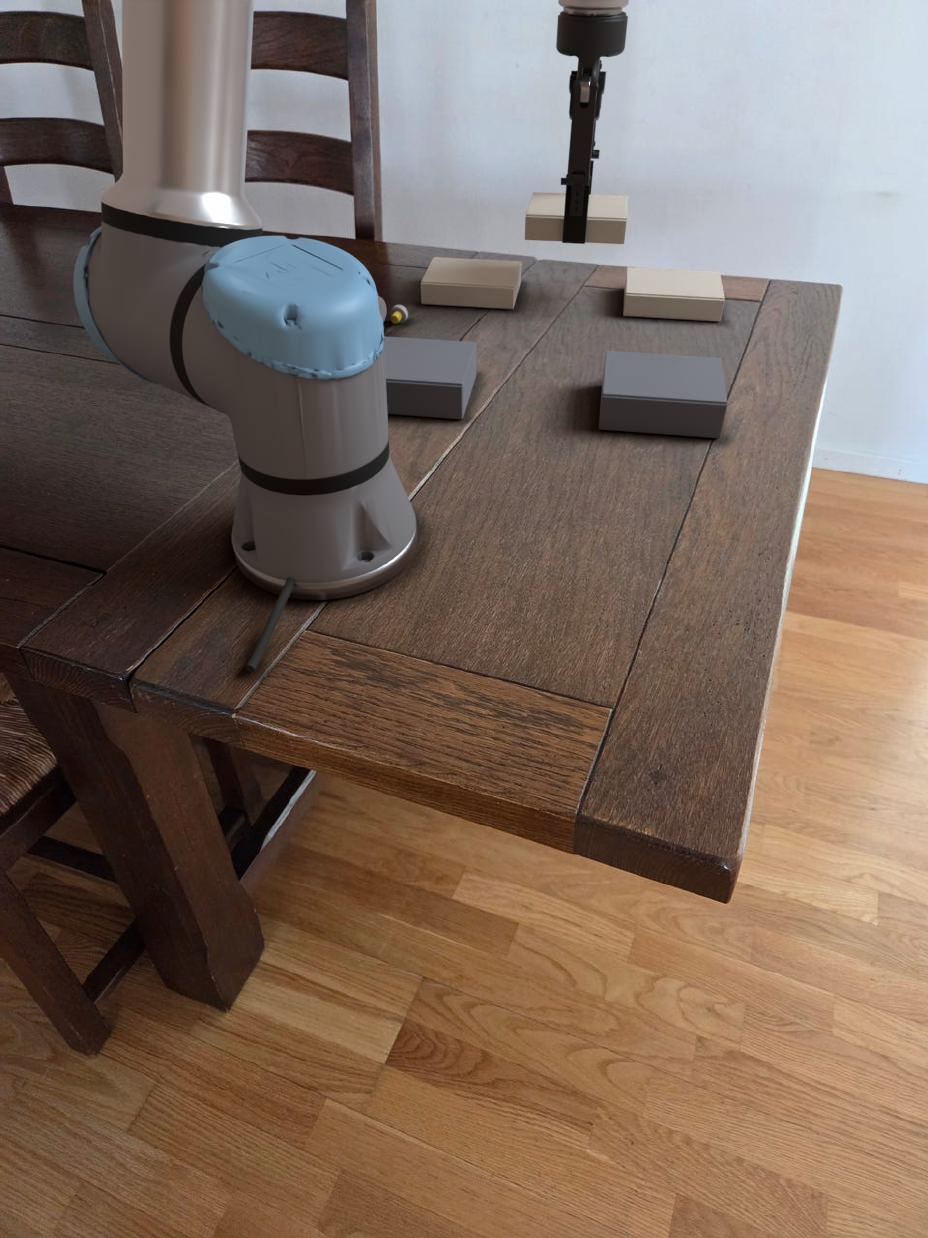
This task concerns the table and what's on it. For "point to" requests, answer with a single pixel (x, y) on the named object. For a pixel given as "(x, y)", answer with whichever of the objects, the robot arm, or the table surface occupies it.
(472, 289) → the cream flat block
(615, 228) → the beige flat box
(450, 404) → the grey lidded box
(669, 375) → the dark grey box
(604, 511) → the table surface
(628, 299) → the cream lidded box
